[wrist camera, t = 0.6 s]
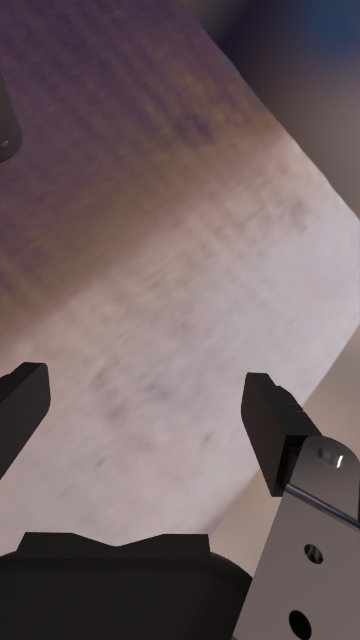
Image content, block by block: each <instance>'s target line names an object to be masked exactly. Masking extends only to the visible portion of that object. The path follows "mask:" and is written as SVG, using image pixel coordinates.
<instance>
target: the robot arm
mask: <svg viewBox="0 0 360 640" xmlns="http://www.w3.org/2000/svg"><path fill="white" fill-rule="evenodd" d="M21 139H22V137H21V129H20V125H19V123H18V120H17V117H16V114H15V111H14V108H13V105H12V102H11V98H10V96H9V93H8V90H7V87H6V84H5V81H4V78H3V75H2V72H1V69H0V161H2V160H5V159H7V158H9V157H10V156H12V155H13V154H14V153H15V152H16V151H17V149H18V148H19V146H20V143H21ZM50 401H51V396H50V386H49V376H48V367H47V365H46V364H45V363H32V362H24V363H22V364H21V365H20V366H18V367H17V368H16V369H15V370H14V371H13V372H11V373H10V374H7V375H5V376H3V377H1V378H0V480H1V478H2V477H3V475H4V474H5V473H6V471H7V470H8V468H9V467H10V465H11V464H12V463H13V461H14V460H15V458H16V457H17V455H18V454H19V453H20V451H21V450H22V448H23V447H24V446H25V444H26V443H27V441H28V440H29V438H30V437H31V436H32V434H33V433H34V431H35V430H36V428H37V427H38V426H39V424H40V423H41V421H42V420H43V418H44V417H45V416H46V414H47V412H48V410H49V407H50ZM241 417H242V421H243V424H244V426H245V429H246V432H247V434H248V437H249V439H250V442H251V445H252V447H253V450H254V452H255V455H256V457H257V460H258V463H259V465H260V468H261V470H262V473H263V476H264V478H265V481H266V483H267V486H268V488H269V491H270V494H271V496H272V497H282V499H281V502H280V505H279V508H278V510H277V513H276V516H275V519H274V522H273V524H272V527H271V530H270V533H269V536H268V538H267V541H266V544H265V547H264V549H263V552H262V555H261V558H260V560H259V563H258V566H257V569H256V572H255V575H254V577H253V578H252V577H251V576H250V575H249V574H248V573H247V572H245V571H244V570H243V569H242V568H240V567H239V566H238V565H236V564H235V563H233V562H232V561H230V560H229V559H226V558H225V557H222V556H220V555H218V554H216V553H213V552H210V547H209V538H208V534H162V535H158V536H155V537H151V538H147V539H144V540H140V541H137V542H133V543H129V544H126V545H122V546H110V545H107V544H104V543H101V542H98V541H95V540H92V539H89V538H86V537H83V536H80V535H77V534H74V533H47V532H25V534H24V536H23V538H22V540H21V542H20V544H19V546H18V548H17V550H16V551H14V552H11V553H8V554H5V555H3V556H0V640H360V462H359V460H358V458H357V456H356V455H355V454H354V453H353V452H352V451H351V450H350V449H349V448H348V447H347V446H345V445H344V444H342V443H340V442H338V441H336V440H334V439H332V438H329V437H326V436H323V435H322V434H321V432H320V431H319V430H318V428H317V427H316V426H315V425H314V423H313V422H312V421H311V419H310V418H309V417H308V415H307V414H306V413H305V412H303V409H302V407H301V406H300V405H299V404H298V402H297V401H296V400H295V398H294V397H293V396H292V394H291V393H289V392H288V391H287V390H285V389H284V388H282V387H281V386H276V385H275V384H274V382H273V381H272V379H271V378H270V377H269V375H268V374H267V373H251V372H248V373H247V375H246V378H245V385H244V391H243V397H242V403H241Z"/></svg>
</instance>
